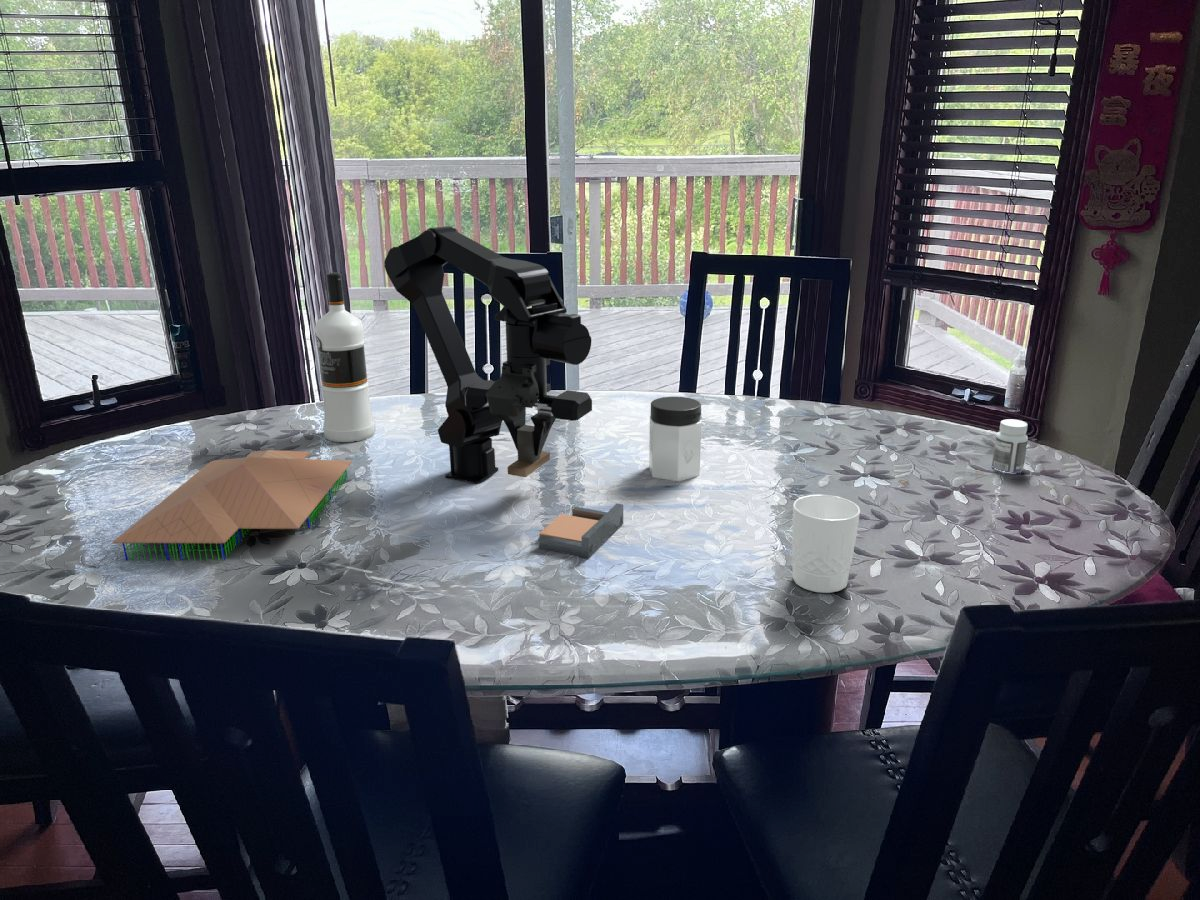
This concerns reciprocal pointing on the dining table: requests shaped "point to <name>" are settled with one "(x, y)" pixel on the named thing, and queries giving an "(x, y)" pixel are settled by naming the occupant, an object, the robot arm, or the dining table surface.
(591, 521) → the tile
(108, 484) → the dining table surface
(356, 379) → the vodka
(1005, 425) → the pill bottle
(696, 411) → the jar
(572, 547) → the grey u-shaped frame
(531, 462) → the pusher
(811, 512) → the white cup
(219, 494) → the house
